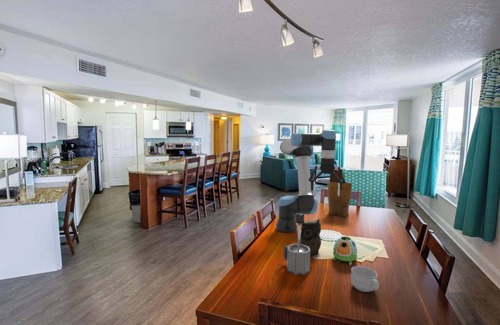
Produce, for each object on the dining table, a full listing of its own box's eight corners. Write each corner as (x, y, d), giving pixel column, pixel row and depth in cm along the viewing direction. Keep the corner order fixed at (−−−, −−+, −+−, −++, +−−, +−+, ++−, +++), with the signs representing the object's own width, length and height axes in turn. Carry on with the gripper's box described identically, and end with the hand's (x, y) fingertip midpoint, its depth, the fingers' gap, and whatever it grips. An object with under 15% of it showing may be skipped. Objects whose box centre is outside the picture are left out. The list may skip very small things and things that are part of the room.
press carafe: (277, 266, 140) (278, 245, 139) (291, 259, 148) (291, 240, 147) (300, 277, 130) (301, 255, 129) (313, 269, 138) (314, 248, 136)
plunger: (287, 251, 137) (288, 214, 135) (297, 247, 142) (298, 211, 140) (300, 256, 131) (301, 217, 129) (309, 252, 137) (310, 214, 134)
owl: (321, 250, 159) (322, 217, 157) (319, 260, 147) (321, 224, 145) (299, 247, 163) (300, 215, 161) (296, 257, 151) (297, 222, 149)
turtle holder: (359, 253, 156) (360, 233, 154) (354, 267, 140) (355, 245, 139) (337, 249, 162) (338, 229, 160) (330, 261, 146) (331, 240, 145)
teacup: (346, 281, 127) (347, 265, 126) (368, 281, 128) (369, 264, 127) (360, 300, 113) (362, 282, 112) (385, 299, 114) (387, 281, 113)
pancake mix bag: (349, 217, 220) (351, 183, 217) (325, 214, 229) (327, 181, 226) (350, 215, 226) (352, 182, 223) (327, 212, 235) (328, 180, 232)
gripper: (304, 157, 154) (303, 194, 157) (351, 159, 148) (349, 197, 150) (305, 156, 161) (304, 191, 164) (350, 157, 155) (348, 194, 157)
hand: (326, 194), depth 157 cm, fingers open, 13 cm apart
